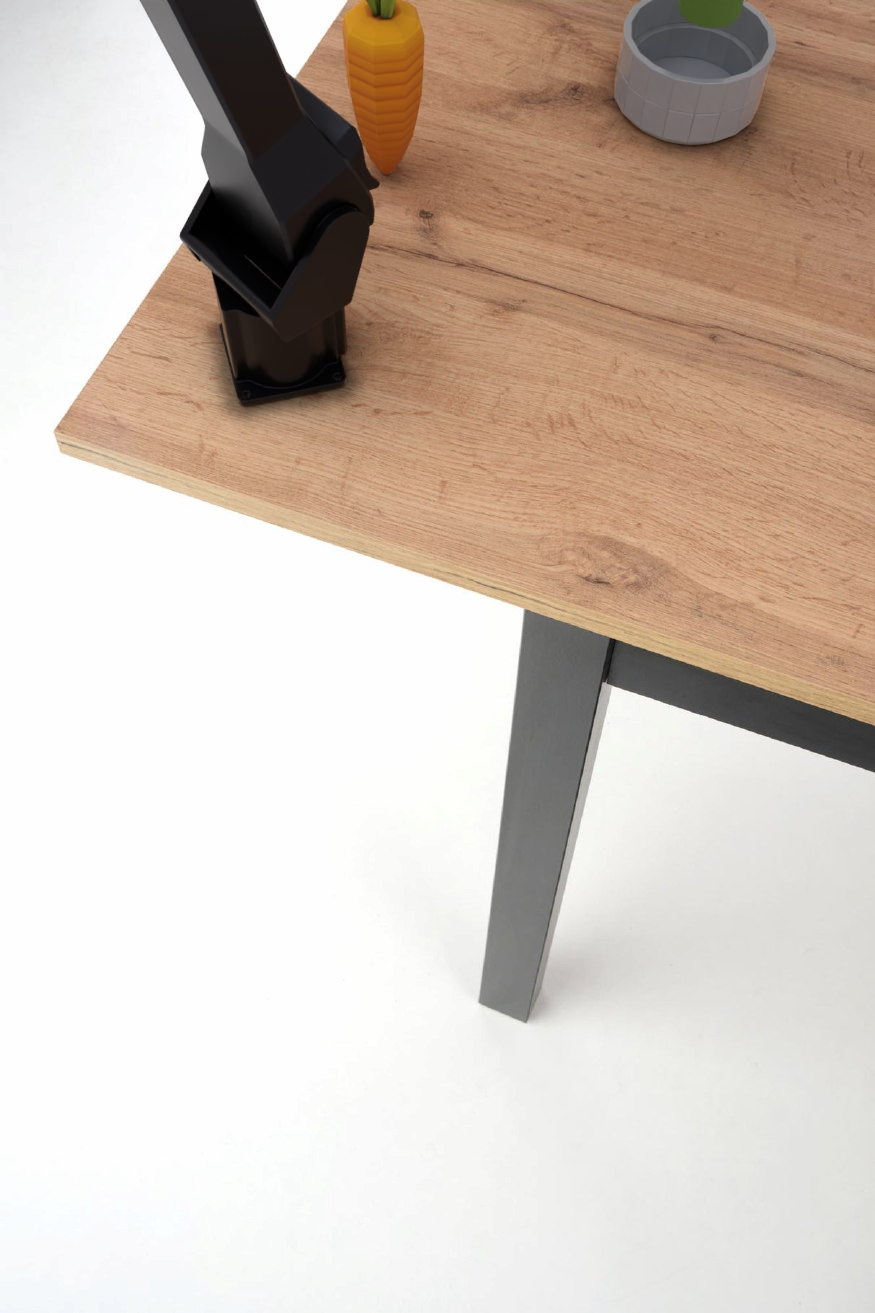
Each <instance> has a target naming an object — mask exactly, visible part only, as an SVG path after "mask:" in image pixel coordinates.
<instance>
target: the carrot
mask: <svg viewBox="0 0 875 1313" xmlns="http://www.w3.org/2000/svg"><path fill="white" fill-rule="evenodd" d="M341 26H342V28H341V29H342V30H341V31H342V39H343V51H344V52H343V53H344V62H345V69H346V71H345V72H346V78H347V79H346V80H347V86H348V91H349V95H350V100H351V104H352V109H353V112H354V117H355V121H356V125H357V130H358V134H359V137H360V139H361V141H362V144H363V148H364V149H365V151H366V153H367V155H368V157H369V159H370V160H371V162H372V163H373V164H374V166H375V167H376V169H377V170H378V171H379V172H380V173H382V174H384V175H390V174H391V173H393V172H394V171H395V170H396V169H397V167H398V165H399V164H400V162H401V161H402V159H403V158H404V156H405V155H406V152H407V150H408V148H409V146H410V144H411V142H412V140H413V136H414V132H415V128H416V125H417V120H418V116H419V111H420V105H421V101H422V94H423V80H424V61H425V33H424V28H423V25H422V22H421V19H420V16H419V12H418V9H417V7H416V6H414V4H413V3H410V2H407V1H405V0H360V1H359V2H357V4H355V5H354V6H353V7H351V8H350V9H349V11H347V12H346V13H345V14H344V15H343V18H342V25H341Z"/></svg>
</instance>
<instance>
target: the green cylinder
mask: <svg viewBox="0 0 875 1313" xmlns="http://www.w3.org/2000/svg"><path fill="white" fill-rule="evenodd" d="M743 2H744V0H679V10H680V13H681V14H682V16H683V17H684V18H685V19H687V20H688V21H689V22H691V23H693V24H695V25H698V26H701V27H706V28H721V27H726V26H729V25H731V24H733V23H734V22H735V21H736V20H737V19H738V18H739V16H740V13H741V9H742V6H743Z"/></svg>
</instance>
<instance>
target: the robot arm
mask: <svg viewBox="0 0 875 1313" xmlns="http://www.w3.org/2000/svg"><path fill="white" fill-rule="evenodd" d="M139 2H140V4H141V6H142V8H143V9H144V11H145V14H146V16H147V17H148V19H149V21H150V24H152V26H153V28H154V30H155V32H156V34H157V36H158V38H159V39H160V41H161V43H162V45H163V47H164V49H165V50H166V53H167V55H168V56H169V58H170V60H171V62H172V64H173V65H174V67H175V69H176V71H177V73H178V75H179V76H180V78H181V80H182V82H183V84H184V86H185V88H186V89H187V92H188V93H189V95H190V97H191V99H192V101H193V102H194V104H195V106H196V109H197V110H198V112H199V114H200V115H201V118H202V121H203V124H204V130H203V136H202V142H201V146H200V147H201V149H200V156H201V159H202V163H203V166H204V169H205V172H206V174H207V181H206V183H205V185H204V187H203V189H202V191H201V193H200V194H199V195H198V198H197V200H196V201H195V204H194V206H192V210H191V211H190V214H189V215H188V216H187V218H186V221H185V222H184V224H183V226H182V228H181V230H180V232H179V240H180V241H181V242H182V243H183V245H184V246H185V248H186V249H187V250H188V251H189V253H190V254H191V255H192V257H194V258H195V259H196V260H197V261H198V262H199V263H200V262H201V263H202V264H203V265H204V266H205V267H206V268H208V270H210V271H211V277H212V280H213V286H214V291H215V296H216V302H217V306H218V307H217V308H218V311H219V316H220V324H219V332H220V336H221V340H222V345H223V348H224V352H225V355H226V359H227V363H228V368H229V371H230V376H231V379H232V383H233V387H234V391H235V395H236V399H237V402H238V404H239V405H241V406H242V407H249V406H254V405H260V404H265V403H269V402H274V401H278V400H279V401H280V400H285V399H289V398H294V397H299V396H304V395H309V394H314V393H315V394H316V393H319V392H325V391H329V390H334V389H340V388H342V387H344V386H345V385H346V384H347V374H346V370H345V367H344V364H343V361H342V357H341V356H345V355H346V354H347V352H348V338H347V326H346V324H347V323H346V309H345V307H347V306H349V305H350V304H351V303H352V301H353V298H354V294H355V290H356V286H357V283H358V280H359V276H360V271H361V269H362V268H361V267H362V264H363V260H364V256H365V252H366V249H367V245H368V241H369V237H370V231H371V230H370V227H372V226H373V225H374V223H375V212H376V208H375V202H374V196H373V195H372V193H371V191H372V190H373V191H374V190H376V189H378V188H379V187H380V185H381V183H380V181H379V180H378V179H377V178H376V177H375V176H373V175H372V173H371V172H370V170H369V169H368V166H367V162H366V157H365V152H364V151H365V150H364V145H363V143H362V140H361V136H360V133H359V131H358V129H357V128H356V127H355V126H354V125H353V124H352V123H350V122H349V121H348V120H347V119H346V118H344V117H343V116H342V115H340V114H339V113H338V112H337V111H336V110H334V109H333V108H332V107H331V106H330V105H328V104H327V103H326V102H325V101H324V100H322V99H321V98H320V97H319V96H318V95H316V94H315V93H313V92H312V91H311V90H310V89H308V88H307V87H306V86H305V85H303V84H302V83H301V82H300V81H299V80H297V79H296V78H295V77H294V76H292V75H291V74H290V73H289V72H288V71H287V70H286V66H285V64H284V62H283V60H282V58H281V55H280V52H279V50H278V48H277V46H276V43H275V41H274V38H273V36H272V34H271V31H270V29H269V27H268V24H267V22H266V20H265V17H264V15H263V12H262V10H261V7H260V5H259V2H258V1H257V0H139Z"/></svg>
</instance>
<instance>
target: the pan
mask: <svg viewBox="0 0 875 1313" xmlns="http://www.w3.org/2000/svg"><path fill="white" fill-rule="evenodd" d="M622 26H623V27H622V34H621V39H620V45H619V50H618V57H617V62H616V68H615V74H614V80H613V82H614V83H613V99H614V101H615V102H616V105H617V106H618V108H619V110H620V112H621V114H622V115H624V116H625V117H626V118H627V119H628V120H629V121H630V122H631V123H632V124H633V126H635V127H636V128H638V129H639V130H641V131H642V132H643V133H645V134H647V135H649V136H651V137H654V138H655V139H658V140H661V141H664V142H667V143H672V144H677V145H678V144H679V145H686V146H688V145H689V146H695V145H698V146H699V145H707V144H712V143H717V142H719V141H722V140H725V139H727V138H730V137H733V136H735V135H737V134H738V133H740V132H741V131H742V130H744V129H745V128H746V127H747V126H749V125H750V124H751V123H752V121H753V119H754V117H755V115H756V113H757V111H758V110H759V106H760V104H761V100H762V97H763V93H764V90H765V88H766V87H765V86H766V83H767V79H768V77H769V73H770V70H771V66H772V63H773V60H774V56H775V53H776V49H777V43H776V31H775V30H774V28H773V26H772V25H771V23H770V22H769V20H768V19H767V17H766V15H765V14H764V13H762V12H761V11H760V10H759V9H758V8H756V7H755V6H753V5H752V4H751V3H749V2H748V1H746V0H744V2H743V6H742V9H741V13H740V16H739V18H738V19H737V20H736V21H735V22H734V23H733V24H731V25H729V26H726V27H721V28H706V27H701V26H698V25H695V24H693V23H691V22H689V21H688V20H687V19H685V18H684V17H683V16H682V14H681V13H680V10H679V0H640V1H638V2H637V3H635V4H634V5H633V6H632V8H631V10H630V11H629V13H628V14H627V16H626V18H625V19H624V22H623V25H622Z"/></svg>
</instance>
